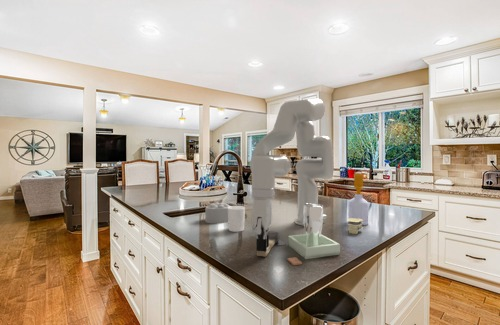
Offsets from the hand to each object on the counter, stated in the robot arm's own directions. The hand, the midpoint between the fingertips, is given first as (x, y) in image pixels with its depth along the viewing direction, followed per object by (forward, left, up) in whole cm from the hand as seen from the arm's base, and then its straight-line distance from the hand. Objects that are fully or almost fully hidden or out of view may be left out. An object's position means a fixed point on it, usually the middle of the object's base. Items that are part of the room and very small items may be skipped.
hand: (262, 248), depth 83 cm
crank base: (-8, -3, -3) cm, 9 cm away
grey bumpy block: (+6, -50, -3) cm, 50 cm away
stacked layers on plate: (-48, -13, -3) cm, 50 cm away
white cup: (+1, -32, -3) cm, 32 cm away
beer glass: (-19, -1, -2) cm, 20 cm away
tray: (-19, -1, -3) cm, 19 cm away
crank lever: (-4, -6, -2) cm, 8 cm away
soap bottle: (-59, -25, -3) cm, 64 cm away
